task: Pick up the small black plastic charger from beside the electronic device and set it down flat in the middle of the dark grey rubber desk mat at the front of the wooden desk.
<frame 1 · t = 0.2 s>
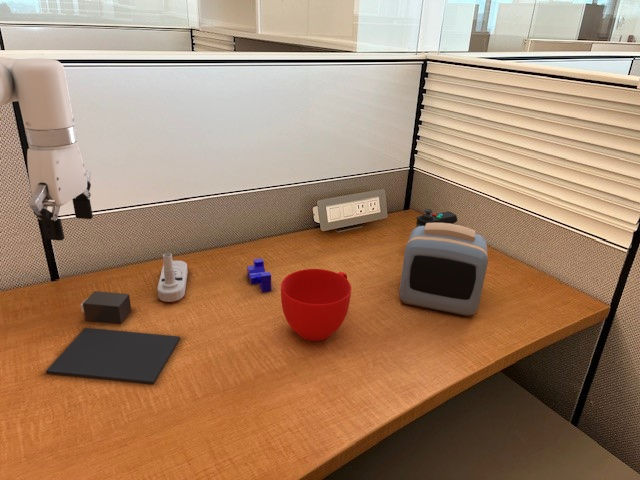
hand: (70, 228, 89), 17 cm above the table, tool pointing down, fingers open, 9 cm apart
charger: (109, 315, 93), on the table
cable holder: (258, 284, 107), on the table
ceramic cup: (319, 326, 93), on the table
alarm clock: (438, 294, 106), on the table
electronic device: (173, 286, 105), on the table
controller: (433, 243, 130), on the table
desk mat: (117, 355, 83), on the table
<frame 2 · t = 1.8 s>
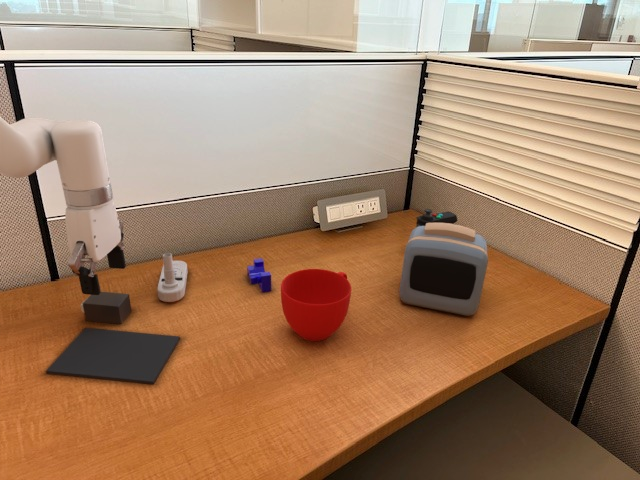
hand: (105, 280, 90), 8 cm above the table, tool pointing down, fingers open, 9 cm apart
nothing on the table moved.
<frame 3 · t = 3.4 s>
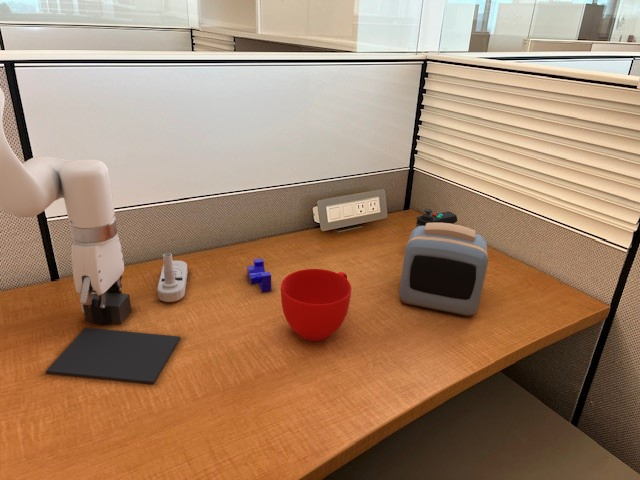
hand: (109, 314, 93), 0 cm above the table, tool pointing down, fingers closed on charger, 4 cm apart
charger: (109, 315, 93), on the table, touching gripper
everything else where it was.
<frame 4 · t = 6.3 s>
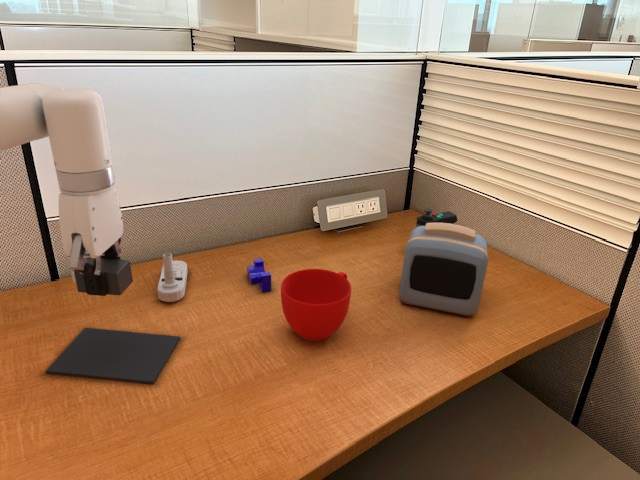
hand: (105, 284, 78), 14 cm above the table, tool pointing down, fingers closed on charger, 4 cm apart
charger: (106, 286, 78), point 13 cm above the table, touching gripper
everything else where it was.
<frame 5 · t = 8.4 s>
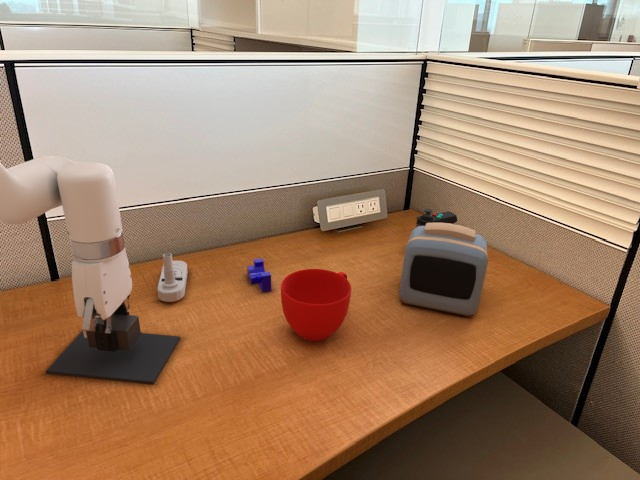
hand: (115, 339, 81), 3 cm above the table, tool pointing down, fingers closed on charger, 4 cm apart
charger: (115, 341, 82), point 3 cm above the table, touching gripper
everything else where it was.
when the fingers open (1 cm above the table, at t = 9.5 s): charger stays where it is, resting on desk mat.
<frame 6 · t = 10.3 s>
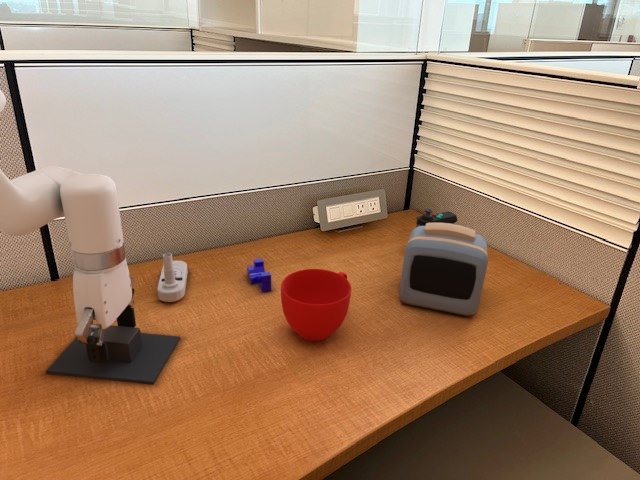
hand: (113, 343, 82), 3 cm above the table, tool pointing down, fingers open, 9 cm apart
charger: (117, 352, 83), point 1 cm above the table, touching desk mat
everything else where it was.
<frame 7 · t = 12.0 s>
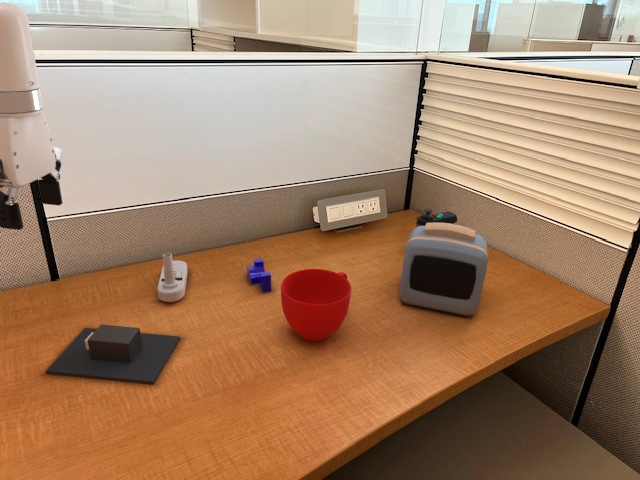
hand: (33, 215, 74), 25 cm above the table, tool pointing down, fingers open, 9 cm apart
nothing on the table moved.
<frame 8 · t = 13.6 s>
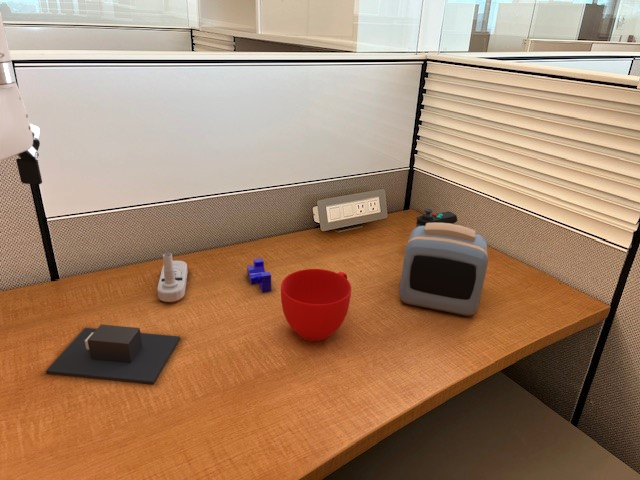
hand: (11, 193, 73), 28 cm above the table, tool pointing down, fingers open, 9 cm apart
nothing on the table moved.
at the end: charger inside the target area on the desk mat (0.1 cm from its centre), point 0.6 cm above the desk mat's base; charger tilted 0°; the gripper is holding nothing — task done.
